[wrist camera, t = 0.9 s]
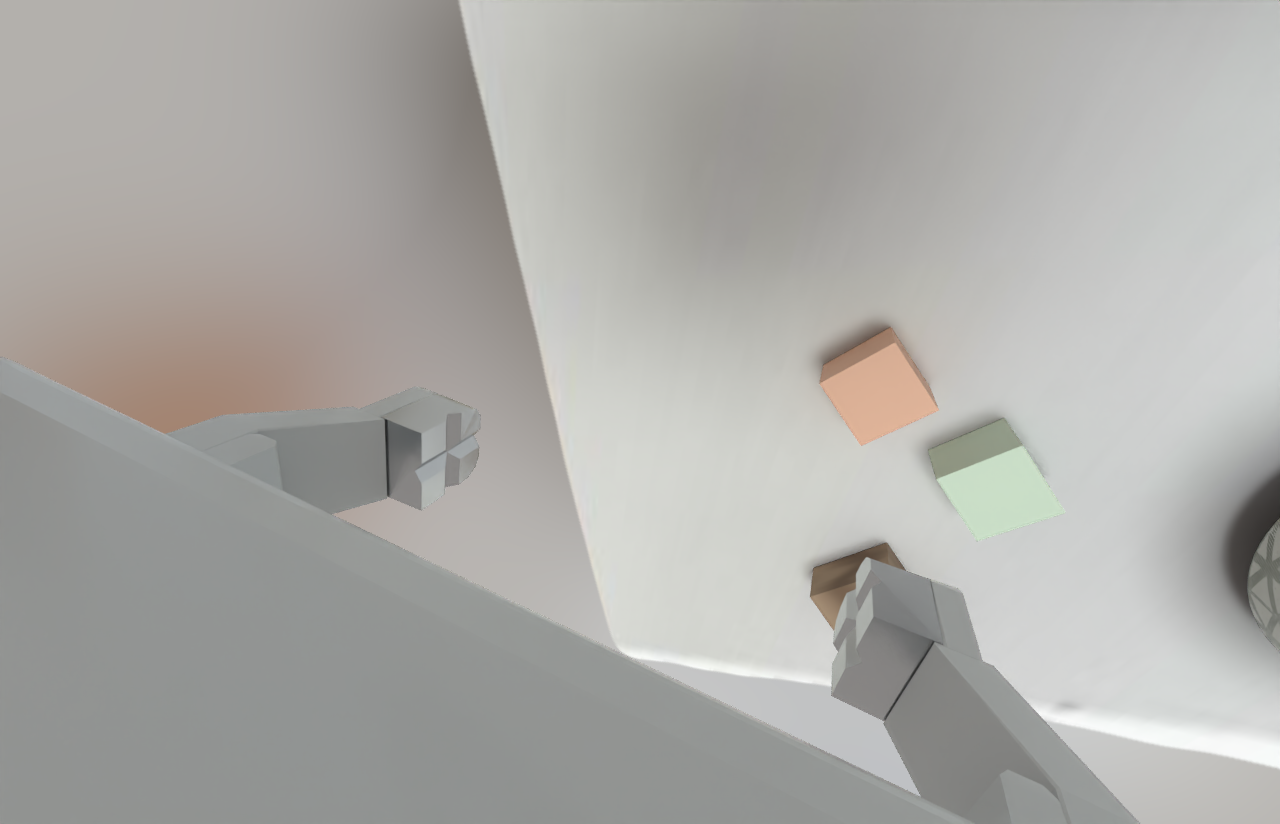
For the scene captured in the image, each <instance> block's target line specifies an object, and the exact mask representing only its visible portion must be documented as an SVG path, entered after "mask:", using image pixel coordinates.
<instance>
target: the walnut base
mask: <svg viewBox="0 0 1280 824" xmlns="http://www.w3.org/2000/svg"><path fill="white" fill-rule="evenodd" d="M866 557H868V558H871V559H873V560H876V561H879V562H882V563H885V564H888V565H890V566H893V567H896V568H899V569H902V570H905V569H904V567H903V566H902V564H901V563H900V561H899V560H898V558H897V557H896V555H895V554H894V552H893V551H892V549H891V548H890V547H889V545H888V544H887V543H884V544H882V545H879V546H876V547H873V548H870V549H867V550H864V551H861V552H859V553H856V554H853V555H850V556H847V557H844V558H841V559H838V560H836V561H833V562H830V563H827V564H824V565H821V566H818V567H815V568H813V576H812V585H811V593H810V597H811V599H812V600H813V602H814V603H815V605H816V606H817V607H818V609H819V610H820V612H821V613H822V615H823V616H824V617H825V619H826V620H827V622H828V623H829V625H830V626H831V627H832V629H833V630H834V629H835V624H836V619H837V616H838V613H839V610H840V607H841V605H842V603H843V600H844V598H845V596H846V594H847V593H848V592H850V591H853V590H855V589H856V573H857V571H858V569H859V567H860V565H861V563H862V562H863V561H864V559H865V558H866ZM905 571H906V570H905Z"/></svg>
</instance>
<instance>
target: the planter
mask: <svg viewBox="0 0 1280 824" xmlns="http://www.w3.org/2000/svg"><path fill="white" fill-rule="evenodd" d="M1248 597H1249V603H1250V607H1251V610H1252V613H1253V616H1254V618H1255V620H1256V622H1257V624H1258V626H1259V628H1260V629H1261V630H1262V632H1263V633H1264V635H1265V636H1266V638H1267V639H1268V640H1269V641H1270V642H1271V644H1272V645H1273V646H1274V647H1275V648H1276V649H1277V650H1278V651H1279V652H1280V518H1279V519H1278V520H1277V521H1276V522H1275V524H1274V525H1273V526H1272V527H1271V528H1270V529H1269V531H1268V532H1267V533H1266V535H1265V536H1264V538H1263V539H1262V541H1261V542H1260V544H1259V546H1258V548H1257V550H1256V552H1255V554H1254V556H1253V559H1252V562H1251V565H1250V569H1249V575H1248Z"/></svg>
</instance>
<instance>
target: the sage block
mask: <svg viewBox="0 0 1280 824" xmlns="http://www.w3.org/2000/svg"><path fill="white" fill-rule="evenodd" d="M928 452H929V456H930V459H931V463H932V466H933V470H934V473H935V477H936V480H937V481H938V483H939V484H940V486H941V487H942V489H943V490H944V492H945V493H946V495H947V496H948V498H949V499H950V501H951V503H952V504H953V506H954V507H955V509H956V510H957V512H958V513H959V515H960V516H961V518H962V519H963V521H964V522H965V524H966V525H967V527H968V528H969V530H970V531H971V533H972V534H973V536H974V538H975V539H976V541H980V540H983V539H986V538H989V537H992V536H995V535H998V534H1002V533H1005V532H1008V531H1011V530H1014V529H1017V528H1020V527H1023V526H1026V525H1030V524H1033V523H1036V522H1039V521H1042V520H1045V519H1048V518H1051V517H1055V516H1058V515H1061V514H1064V513H1066V512H1065V511H1064V509H1063V508H1062V506H1061V505H1060V503H1059V501H1058V500H1057V498H1056V497H1055V495H1054V494H1053V492H1052V490H1051V489H1050V487H1049V486H1048V484H1047V482H1046V481H1045V479H1044V478H1043V476H1042V475H1041V473H1040V471H1039V470H1038V468H1037V467H1036V465H1035V464H1034V462H1033V460H1032V459H1031V457H1030V456H1029V454H1028V453H1027V451H1026V449H1025V448H1024V446H1023V445H1022V443H1021V442H1020V440H1019V439H1018V437H1017V436H1016V434H1015V433H1014V431H1013V430H1012V429H1011V427H1010V426H1009V424H1008V423H1007V421H1006V420H1005V418H1003V419H1000V420H998V421H996V422H993V423H991V424H989V425H986V426H984V427H981V428H979V429H977V430H974V431H972V432H970V433H967V434H965V435H963V436H960V437H958V438H955V439H953V440H951V441H948V442H946V443H944V444H941V445H939V446H937V447H934V448H932V449H929V450H928Z"/></svg>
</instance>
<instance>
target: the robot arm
mask: <svg viewBox="0 0 1280 824" xmlns="http://www.w3.org/2000/svg"><path fill="white" fill-rule="evenodd" d="M480 420H481V415H480V414H479V412H478V411H477V409H475V408H472V407H470V406H468V405H465V404H463V403H460V402H458V401H455V400H453V399H450V398H448V397H445V396H442V395H439V394H438V393H436V392H432V391H430V390H427V389H424V388H420V387H413V388H410V389H408V390H405V391H403V392H400V393H398V394H395V395H393V396H391V397H388V398H385V399H383V400H380V401H378V402H375V403H373V404H370V405H368V406H365V407H363V408H361V409H358V408H355V407H342V408H326V409H312V410H311V409H310V410H296V411H279V412H263V413H248V414H231V415H222V416H218V417H215V418H212V419H209V420H206V421H203V422H200V423H197V424H194V425H191V426H188V427H185V428H182V429H179V430H176V431H173V432H170V433H167V434H164V433H162V432H159V431H157V430H155V429H153V428H151V427H149V426H147V425H145V424H143V423H141V422H139V421H137V420H135V419H132V418H130V417H128V416H126V415H124V414H122V413H120V412H118V411H116V410H114V409H112V408H110V407H107V406H105V405H103V404H101V403H99V402H97V401H95V400H93V399H91V398H89V397H87V396H85V395H83V394H81V393H78V392H76V391H74V390H72V389H70V388H68V387H66V386H64V385H62V384H60V383H58V382H56V381H53V380H51V379H49V378H47V377H45V376H43V375H41V374H39V373H37V372H35V371H33V370H31V369H29V368H28V367H26V366H24V365H21V364H20V363H18V362H15V361H12V360H10V359H7V358H4V357H0V824H1140V823H1139V822H1138V821H1137V820H1136V818H1134V816H1133V815H1132V814H1131V813H1130V812H1129V811H1128V810H1127V809H1126V808H1125V807H1124V806H1123V805H1122V803H1121V802H1120V801H1119V800H1118V799H1117V798H1116V797H1115V796H1114V795H1113V794H1112V793H1111V792H1110V791H1109V790H1108V788H1107V787H1106V786H1105V785H1104V784H1103V783H1102V782H1101V781H1100V780H1099V779H1098V778H1097V777H1096V776H1095V775H1094V773H1093V772H1092V771H1091V770H1090V769H1089V768H1088V767H1087V766H1086V765H1085V764H1084V763H1083V762H1082V761H1081V760H1080V758H1079V757H1078V756H1077V755H1076V754H1075V753H1074V752H1073V751H1072V750H1071V749H1070V748H1069V747H1068V746H1067V745H1066V743H1065V742H1064V741H1063V740H1062V739H1061V738H1060V737H1059V736H1058V735H1057V734H1056V733H1055V732H1054V730H1052V728H1051V727H1050V726H1049V725H1048V724H1047V723H1046V722H1045V721H1044V720H1043V719H1042V718H1041V717H1040V715H1039V714H1038V713H1037V712H1036V711H1035V710H1034V709H1033V708H1032V707H1031V706H1030V705H1029V704H1028V703H1027V702H1026V700H1025V699H1024V698H1023V697H1022V696H1021V695H1020V694H1019V693H1018V692H1017V691H1016V690H1015V689H1014V688H1013V687H1012V685H1011V684H1010V683H1009V682H1008V681H1007V680H1006V679H1005V678H1004V677H1003V676H1002V675H1001V674H1000V673H999V671H998V670H997V669H996V668H995V667H994V666H992V665H990V664H988V663H985V662H983V660H982V657H981V653H980V650H979V647H978V643H977V640H976V637H975V633H974V630H973V626H972V623H971V620H970V616H969V613H968V610H967V606H966V603H965V599H964V596H963V593H962V592H961V591H960V590H959V589H958V588H955V587H952V586H949V585H946V584H943V583H940V582H937V581H934V580H931V579H928V578H925V577H922V576H919V575H916V574H913V573H910V572H908V571H905V570H902V569H899V568H896V567H893V566H890V565H888V564H885V563H882V562H879V561H876V560H873V559H871V558H868V557H866V558H865V559H864V561H863V562H862V563H861V565H860V567H859V569H858V571H857V573H856V589H855V590H853V591H850V592H848V593H847V594H846V596H845V598H844V600H843V603H842V605H841V607H840V610H839V613H838V616H837V619H836V624H835V629H834V640H833V644H834V646H835V647H836V649H837V651H838V653H837V655H836V657H835V659H834V661H833V663H832V687H831V690H832V691H831V696H833V697H835V698H837V699H839V700H841V701H843V702H845V703H847V704H849V705H852V706H854V707H856V708H858V709H860V710H862V711H864V712H866V713H868V714H870V715H872V716H874V717H877V718H879V719H881V720H883V721H885V722H884V726H885V728H886V729H887V731H888V733H889V735H890V737H891V739H892V741H893V743H894V745H895V747H896V749H897V751H898V753H899V754H900V757H901V759H902V760H903V762H904V764H905V766H906V768H907V770H908V772H909V774H910V776H911V778H912V780H913V782H914V784H915V786H916V788H917V790H918V791H919V794H920V795H921V797H920V796H917V795H915V794H913V793H911V792H909V791H907V790H905V789H903V788H901V787H899V786H897V785H895V784H892V783H890V782H888V781H886V780H884V779H882V778H880V777H878V776H875V775H874V774H871V773H870V772H867V771H865V770H863V769H861V768H859V767H857V766H855V765H853V764H851V763H849V762H846V761H844V760H842V759H840V758H838V757H836V756H834V755H832V754H830V753H827V752H825V751H823V750H821V749H819V748H817V747H815V746H813V745H810V744H809V743H807V742H805V741H802V740H800V739H798V738H796V737H794V736H792V735H790V734H788V733H786V732H784V731H781V730H780V729H778V728H775V727H773V726H771V725H769V724H767V723H765V722H763V721H761V720H759V719H756V718H754V717H753V716H751V715H748V714H746V713H744V712H742V711H740V710H738V709H736V708H734V707H732V706H730V705H728V704H726V703H724V702H721V701H719V700H717V699H715V698H713V697H711V696H709V695H707V694H705V693H703V692H701V691H699V690H696V689H694V688H692V687H690V686H688V685H686V684H684V683H682V682H680V681H678V680H675V679H674V678H671V677H669V676H667V675H665V674H663V673H661V672H659V671H657V670H655V669H653V668H651V667H649V666H647V665H645V664H642V663H640V662H638V661H636V660H634V659H632V658H630V657H628V656H626V655H624V654H622V653H620V652H617V651H615V650H613V649H611V648H609V647H607V646H605V645H603V644H601V643H599V642H597V641H594V640H593V639H590V638H588V637H586V636H584V635H582V634H580V633H578V632H576V631H574V630H572V629H570V628H568V627H565V626H563V625H561V624H559V623H557V622H555V621H553V620H551V619H549V618H547V617H545V616H542V615H540V614H538V613H536V612H534V611H532V610H530V609H528V608H526V607H524V606H521V605H519V604H517V603H515V602H513V601H511V600H509V599H507V598H505V597H503V596H501V595H498V594H496V593H494V592H492V591H490V590H488V589H486V588H484V587H482V586H480V585H478V584H476V583H474V582H471V581H469V580H467V579H465V578H463V577H461V576H459V575H457V574H455V573H452V572H451V571H448V570H446V569H444V568H442V567H440V566H438V565H436V564H434V563H432V562H430V561H428V560H426V559H424V558H422V557H419V556H417V555H415V554H413V553H411V552H409V551H407V550H405V549H403V548H401V547H399V546H396V545H395V544H392V543H390V542H388V541H386V540H384V539H382V538H380V537H378V536H376V535H374V534H372V533H370V532H367V531H365V530H363V529H361V528H359V527H357V526H355V525H353V524H351V523H349V522H347V521H344V520H342V519H340V518H338V517H336V516H334V515H332V514H334V513H338V512H341V511H344V510H348V509H352V508H355V507H359V506H362V505H366V504H369V503H373V502H376V501H380V500H383V499H387V496H388V497H390V498H393V499H395V500H397V501H400V502H402V503H404V504H407V505H409V506H412V507H414V508H417V509H419V510H423V509H425V508H426V507H427V506H429V505H430V504H432V503H433V502H435V501H436V500H437V499H439V498H440V497H442V496H443V495H444V494H445V487H448V486H453V485H459V484H460V483H461V482H463V481H464V480H465V479H467V478H468V477H469V475H470V474H471V472H472V471H473V469H474V468H475V466H476V463H477V460H478V457H479V445H478V443H477V441H476V438H475V437H474V435H475V434H476V433H477V431H478V430H480Z"/></svg>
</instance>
